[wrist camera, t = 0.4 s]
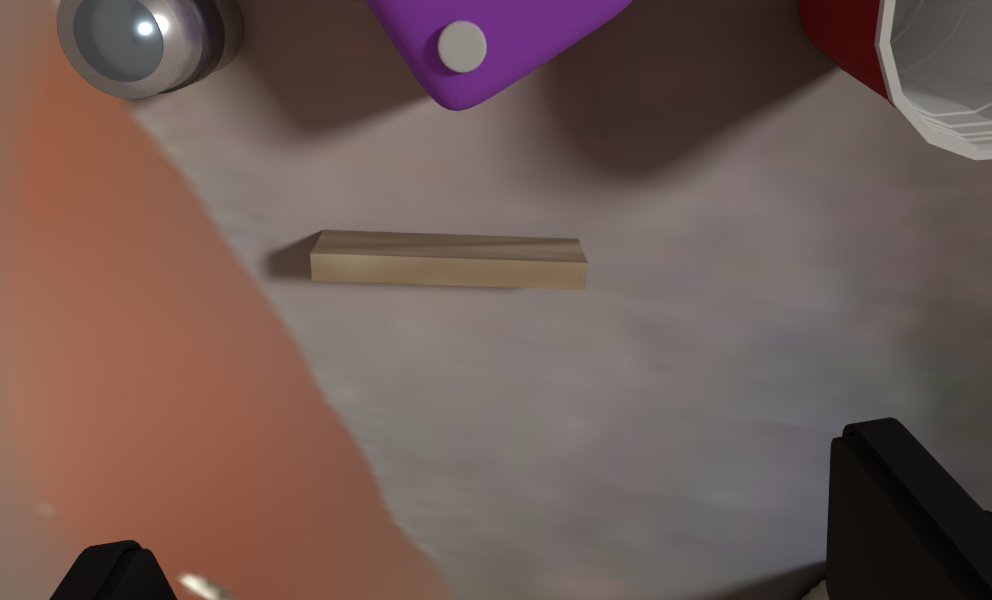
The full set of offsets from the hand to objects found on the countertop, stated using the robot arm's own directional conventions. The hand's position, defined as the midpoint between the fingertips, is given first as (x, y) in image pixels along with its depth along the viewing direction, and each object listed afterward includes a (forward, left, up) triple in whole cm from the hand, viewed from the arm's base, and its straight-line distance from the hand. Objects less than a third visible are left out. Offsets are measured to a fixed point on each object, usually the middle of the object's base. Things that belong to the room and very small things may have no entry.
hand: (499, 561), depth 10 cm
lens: (-4, -14, -29) cm, 33 cm away
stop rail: (+7, -1, -29) cm, 30 cm away
